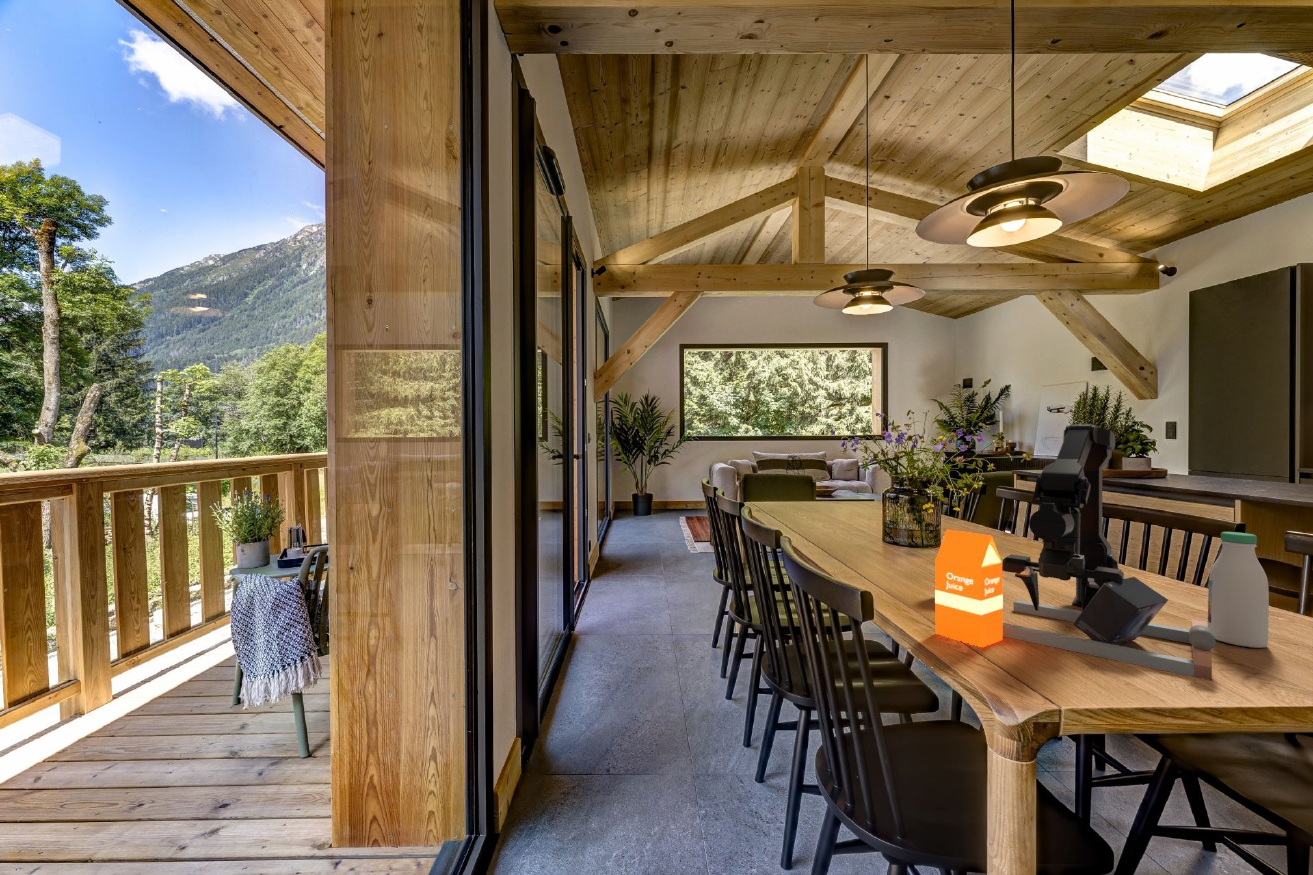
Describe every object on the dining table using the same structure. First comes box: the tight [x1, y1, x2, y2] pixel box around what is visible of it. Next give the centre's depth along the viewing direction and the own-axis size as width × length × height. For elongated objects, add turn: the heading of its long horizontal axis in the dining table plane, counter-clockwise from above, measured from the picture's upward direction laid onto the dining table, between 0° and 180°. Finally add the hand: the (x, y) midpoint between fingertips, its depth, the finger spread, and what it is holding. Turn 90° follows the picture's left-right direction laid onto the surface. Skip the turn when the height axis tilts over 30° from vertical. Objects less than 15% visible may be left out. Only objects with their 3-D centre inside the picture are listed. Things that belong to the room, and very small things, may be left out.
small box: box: [1072, 576, 1169, 646], centre depth 101 cm, size 11×6×10 cm, turn 115°
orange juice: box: [934, 528, 1004, 648], centre depth 106 cm, size 8×9×20 cm
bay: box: [1003, 599, 1217, 681], centre depth 104 cm, size 21×30×7 cm
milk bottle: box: [1207, 531, 1270, 649], centre depth 102 cm, size 8×8×20 cm
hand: (1059, 614), depth 108 cm, fingers open, 7 cm apart
